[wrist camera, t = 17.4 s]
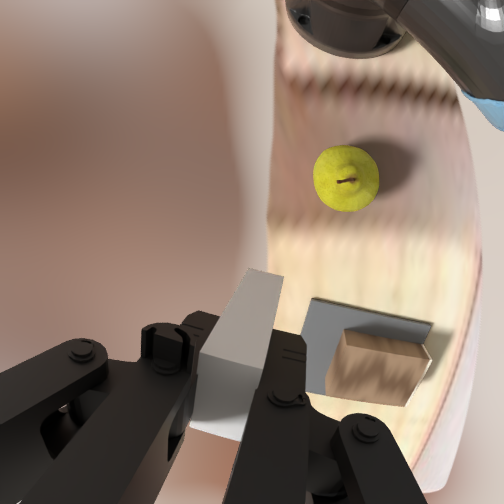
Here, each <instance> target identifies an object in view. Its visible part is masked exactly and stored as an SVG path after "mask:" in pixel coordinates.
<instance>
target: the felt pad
mask: <svg viewBox="0 0 504 504" xmlns="http://www.w3.org/2000/svg"><path fill="white" fill-rule="evenodd" d="M430 328H431V325H430V324H427V323H422V322H417V321H412V320H407V319H402V318H398V317H393V316H388V315H383V314H379V313H374V312H370V311H365V310H361V309H356V308H352V307H347V306H343V305H338V304H334V303H330V302H325V301H321V300H317V299H312V298H311V301H310V305H309V308H308V312H307V315H306V318H305V322H304V325H303V328H302V331H301V336H302V338H303V339H304V341H305V343H306V344H307V355H306V356H307V361H306V389H305V392H310V393H315V394H320V395H326V390H325V376H326V374H327V372H328V369H329V366H330V364H331V361H332V359H333V356H334V354H335V351H336V348H337V346H338V343H339V340H340V338H341V335H342V332H343V329H345V330H350V331H355V332H360V333H365V334H370V335H375V336H380V337H385V338H390V339H396V340H401V341H407V342H412V343H418V344H424V341H425V339H426V337H427V335H428V332H429V330H430Z"/></svg>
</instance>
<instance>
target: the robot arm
mask: <svg viewBox="0 0 504 504" xmlns="http://www.w3.org/2000/svg"><path fill="white" fill-rule="evenodd" d="M285 2H286V9H287V14H288V17H289V19H290V21H291V23H292V25H293V27H294V28H295V29H296V31H297V32H298V33H299V34H300V35H301V36H302V37H303V38H304V39H305V40H306V41H308V42H309V43H310V44H312V45H313V46H315V47H317V48H319V49H321V50H323V51H325V52H327V53H330V54H333V55H336V56H340V57H345V58H353V59H364V58H372V57H376V56H379V55H382V54H384V53H386V52H388V51H390V50H391V49H393V48H394V47H395V46H396V45H397V44H398V43H399V41H400V40H401V39H402V37H403V36H404V34H405V33H406V31H407V32H408V33H409V34H410V35H411V36H412V37H413V38H415V39H416V40H417V41H418V42H419V43H420V44H421V45H422V46H423V47H424V48H425V49H426V50H427V51H428V52H429V53H430V54H431V55H432V57H433V58H434V59H435V60H436V61H437V62H438V63H439V64H440V65H441V66H442V67H443V68H444V69H445V71H446V72H447V73H448V74H449V75H450V76H451V77H452V79H453V80H454V81H455V82H456V83H457V84H458V86H459V87H460V88H461V91H462V93H463V94H464V95H465V96H466V97H467V98H468V99H469V100H471V101H473V103H474V104H475V105H476V106H477V107H478V108H479V110H480V111H481V112H482V114H483V115H484V116H485V117H486V119H487V120H488V121H489V122H490V123H491V124H492V125H493V126H494V127H496V128H497V129H499V130H501V131H504V0H285ZM283 279H284V276H279V275H275V274H271V273H267V272H262V271H258V270H254V269H250V268H249V269H248V270H247V272H246V274H245V275H244V277H243V279H242V281H241V282H240V284H239V286H238V287H237V289H236V291H235V292H234V294H233V296H232V298H231V299H230V301H229V303H228V304H227V306H226V308H225V310H224V311H223V313H222V315H221V316H216V315H213V314H209V313H205V312H202V311H196V312H194V313H192V314H189V315H188V316H187V317H186V318H185V319H184V321H183V322H182V324H180V326H179V325H176V324H171V323H154V324H150V325H147V326H146V327H144V328H142V331H141V357H140V359H139V360H138V361H137V362H125V361H119V360H112V359H108V355H107V351H106V348H105V347H104V346H103V345H101V343H98V342H96V341H94V340H90V339H85V338H79V339H72V340H69V341H66V342H64V343H62V344H60V345H58V346H55V347H53V348H51V349H49V350H47V351H45V352H43V353H41V354H39V355H37V356H35V357H33V358H31V359H28V360H26V361H24V362H22V363H20V364H18V365H16V366H14V367H12V368H10V369H8V370H6V371H4V372H1V373H0V504H17V503H18V502H19V501H21V500H22V499H23V500H22V501H21V502H20V503H19V504H154V502H155V500H156V498H157V496H158V494H159V492H160V490H161V488H162V485H163V483H164V481H165V479H166V477H167V475H168V473H169V471H170V469H171V467H172V464H173V462H174V460H175V458H176V456H177V454H178V452H179V450H180V448H181V445H182V443H183V441H184V436H185V428H186V426H187V424H188V422H189V420H190V418H191V420H190V427H192V428H195V429H198V430H201V431H204V432H208V433H211V434H215V435H219V436H222V437H225V438H229V439H233V440H237V441H240V445H239V448H238V451H237V455H236V458H235V461H234V464H233V468H232V472H231V475H230V478H229V482H228V485H227V489H226V492H225V495H224V498H223V502H222V504H428V503H427V502H426V499H425V497H424V495H423V493H422V491H421V489H420V487H419V485H418V483H417V481H416V480H415V478H414V476H413V474H412V472H411V470H410V468H409V466H408V464H407V462H406V460H405V458H404V456H403V454H402V452H401V450H400V448H399V447H398V445H397V443H396V441H395V439H394V437H393V435H392V433H391V431H390V430H389V428H388V427H387V426H386V425H385V423H383V422H382V421H381V420H379V419H378V418H376V417H373V416H371V415H368V414H362V413H355V414H350V415H347V416H346V417H344V418H343V419H342V420H341V422H340V421H337V420H335V419H332V418H330V417H327V416H325V415H323V414H321V413H319V412H318V411H317V410H315V409H314V408H313V407H312V406H311V403H310V399H309V396H308V395H307V394H306V393H305V389H306V361H307V356H306V355H307V344H306V343H305V341H304V339H303V338H302V336H301V335H297V334H292V333H288V332H284V331H280V330H275V329H273V324H274V320H275V316H276V311H277V307H278V302H279V297H280V293H281V288H282V284H283ZM64 405H67V406H65V407H63V406H64ZM61 407H63V408H61ZM59 408H60V409H59Z"/></svg>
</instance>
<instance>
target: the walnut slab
mask: <svg viewBox="0 0 504 504" xmlns="http://www.w3.org/2000/svg"><path fill="white" fill-rule="evenodd" d="M431 362H432V358H431V357H430V355H429V353H428V351H427V350H426V348H425V346H424V344H418V343H412V342H407V341H401V340H396V339H390V338H385V337H380V336H375V335H370V334H365V333H360V332H355V331H350V330H345V329H343V332H342V335H341V338H340V340H339V343H338V346H337V348H336V351H335V354H334V356H333V359H332V361H331V364H330V366H329V369H328V372H327V374H326V376H325V390H326V396H330V397H335V398H341V399H348V400H354V401H361V402H368V403H376V404H383V405H392V406H401V407H407V406H408V404H409V402H410V401H411V399H412V397H413V396H414V394H415V392H416V390H417V388H418V387H419V385H420V383H421V381H422V379H423V377H424V376H425V374H426V372H427V370H428V368H429V366H430V364H431Z"/></svg>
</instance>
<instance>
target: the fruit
mask: <svg viewBox="0 0 504 504" xmlns="http://www.w3.org/2000/svg"><path fill="white" fill-rule="evenodd" d="M313 178H314V185H315V189H316V191H317V194H318V196H319V198H320V199H321V200H322V201H323V202H324V203H325V204H326V205H328V206H329V207H331V208H333V209H335V210H338V211H343V212H352V211H357V210H360V209H362V208H364V207H366V206H367V205H369V204H370V203H371V202H372V201H373V200H374V198H375V196H376V194H377V192H378V189H379V173H378V168H377V165H376V163H375V161H374V160H373V159H372V158H371V156H370V155H369V154H367V153H366V152H365V151H364V150H362V149H360V148H357V147H353V146H348V145H340V146H334V147H331V148H328V149H326V150H325V151H323V152H322V154H321V155H320V156H319V158H318V159H317V161H316V163H315V166H314V172H313Z"/></svg>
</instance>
